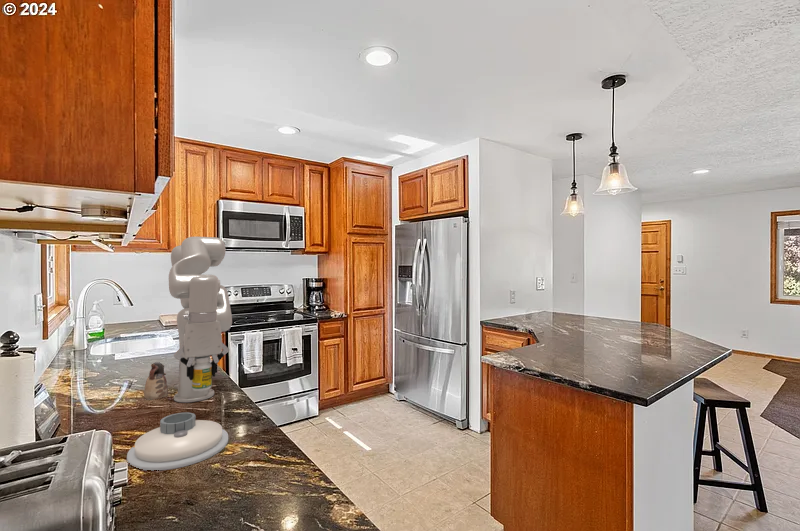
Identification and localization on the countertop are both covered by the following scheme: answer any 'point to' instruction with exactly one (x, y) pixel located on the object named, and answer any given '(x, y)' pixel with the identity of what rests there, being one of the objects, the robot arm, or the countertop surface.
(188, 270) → the robot arm
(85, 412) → the countertop surface
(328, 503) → the countertop surface
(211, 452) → the base
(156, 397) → the figurine
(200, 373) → the supplement bottle
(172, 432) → the white round disc
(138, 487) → the countertop surface
